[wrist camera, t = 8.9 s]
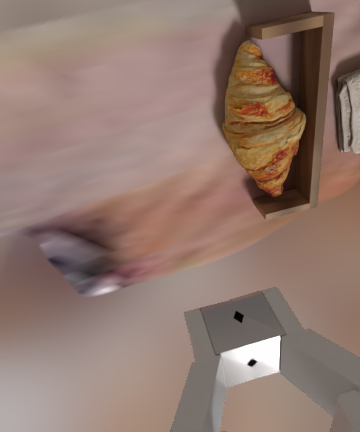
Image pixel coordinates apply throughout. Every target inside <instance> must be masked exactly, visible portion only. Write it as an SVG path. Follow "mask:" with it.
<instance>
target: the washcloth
mask: <svg viewBox="0 0 360 432" xmlns="http://www.w3.org/2000/svg"><path fill="white" fill-rule="evenodd" d="M336 80H337V81H338V86H339V87H338V88H337V93H336V113H337V120H338V140H339V149H340V152H341V153H342V152H347V151H352V150H353V152H354V153H355V154H358V153H360V69H358V70H356V71H353V72H350V73H347V74H345V75H342V76H340V77H339V78H337V79H336Z"/></svg>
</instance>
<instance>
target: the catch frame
mask: <svg viewBox="0 0 360 432" xmlns="http://www.w3.org/2000/svg"><path fill="white" fill-rule="evenodd" d="M334 14H335V13H330V12H308V13H303V14H299V15H294V16H290V17H285V18H281V19H276V20H271V21H267V22H262V23H258V24H253V25H249V26H246V33H247V36H249V37H253V38H257V39H261V40H263V39H267V38H272V37H276V36H281V35H285V34H290V33H294V32H299V31H301V51H300V76H299V100H298V108H299V109H300V110H301V111H302V112H303V113H304V114H305V116H306V124H305V128H304V131H303V133H302V135H301V138H300V140H299V147H298V151H297V154H296V173H295V189H291V190H287V191H283V192H282V194H281V195H279V196H276V197H271V196H270V195H267V196H263V197H259V198H256V199H254V205H255V206H256V207H257V209H258V210H259V211H260V213H261V214H262V216H263V217H264V218H265V220H268V219H272V218H276V217H280V216H284V215H288V214H291V213H295V212H299V211H303V210H307V209H311V208H315V207H317V202H318V191H319V180H320V169H321V158H322V147H323V136H324V125H325V114H326V103H327V91H328V80H329V69H330V58H331V47H332V36H333V25H334Z"/></svg>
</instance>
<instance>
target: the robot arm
mask: <svg viewBox="0 0 360 432" xmlns="http://www.w3.org/2000/svg"><path fill="white" fill-rule="evenodd" d="M184 316H185V321H186V325H187V329H188V333H189V337H190V342H191V346H192V350H193V354H194V357H195V361H196V362H193V363H192V365H191V368H190V371H189V374H188V377H187V380H186V383H185V387H184V389H183V393H182V396H181V399H180V402H179V405H178V408H177V412H176V415H175V418H174V421H173V424H172V427H171V430H170V432H219V430H220V425H221V419H222V414H223V408H224V403H225V397H226V392H227V388H228V387H231V386H234V385H237V384H240V383H243V382H246V381H249V380H252V379H256V378H260V377H263V376H266V375H271V374H274V373H278V372H280V374H281V375H283V376H284V377H285V378H286V379H287V380H289V381H290V382H291V383H292V384H293V385H295V386H296V387H297V388H298V389H300V390H301V391H302V392H303V393H304V394H306V395H307V396H308V397H309V398H311V399H312V400H313V401H314V402H315V403H317V404H318V405H319V406H320V407H321V408H323V409H324V410H325V411H326V412H328V413H329V414H330V415H331V416H332V417H333V421H332V424H331V428H330V432H360V357H358V356H356V355H355V354H353V353H351V352H349V351H348V350H346V349H344V348H343V347H341V346H339V345H337V344H335V343H334V342H332V341H330V340H329V339H327V338H325V337H323V336H322V335H320V334H318V333H316V332H315V331H313V330H311V329H304V328H303V327H302V326H301V324H300V322H299V321H298V319H297V317H296V316H295V314H294V312H293V311H292V309H291V308H290V306H289V305H288V303H287V301H286V300H285V298H284V297H283V295H282V294H281V292H280V290H279V289H278V288H277V287H272V288H269V289H266V290H262V291H257V292H254V293H250V294H247V295H244V296H240V297H237V298H234V299H231V300H229V301H225V302H221V303H217V304H214V305H209V306H206V307H201V308H200V309H199V308H198V309H194V310H190V311H187V312H184ZM222 432H226V431H222Z"/></svg>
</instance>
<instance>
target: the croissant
mask: <svg viewBox="0 0 360 432" xmlns="http://www.w3.org/2000/svg"><path fill="white" fill-rule="evenodd" d="M237 53H238V54H237V55H236V57H235V62H234V65H233V68H232V71H231V74H230V76H229V80H228V87H227V90H226V97H225V121H224V122H223V123H222V130H223V132H224V135H225V137H226V139H227V141H228V144H229V146H230V148H231V150H232V152H233V154H234V156H235V158H236V160H237V161H238V163H239V164H240V165H241V166H242V167H243V168H244V169H245V170H246V171H247V173H248V174H249V175H250V176H252V177H253V178H254V179H255V181H256V184H257V185H258V187H259V188H260V189H262V190H264V191H266V192H267V193H268V194H269V195H270V196H271V197H276V196H279V195H281V194H282V192H283V182H284V181H285V180H286V178H287V175H288V171H289V170H290V164H291V161H292V158H293V156H294V155H296V154H297V151H298V147H299V140H300V138H301V135H302V133H303V131H304V128H305V124H306V116H305V114H304V113H303V112H302V111H301V110H300V109H299V108H297V107H295V104H294V102H293V100H292V97H291V95H290V93H289V92H286V91H285V90H284V89H283V87H281V85H280V84H279V83H278V81H277V78H276V76H275V73H274V70H273V68H272V67H271V66H269V65H268V64H267V62H266V61H265V60H262V59H261V58H262V55H261V51H260V48H259V47H257V46H256V45H255V44H254V43H253V42H252V41H250V40H248V41H245V42H243V43H242V44H241V45H240V47H239V49H238V51H237Z"/></svg>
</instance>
